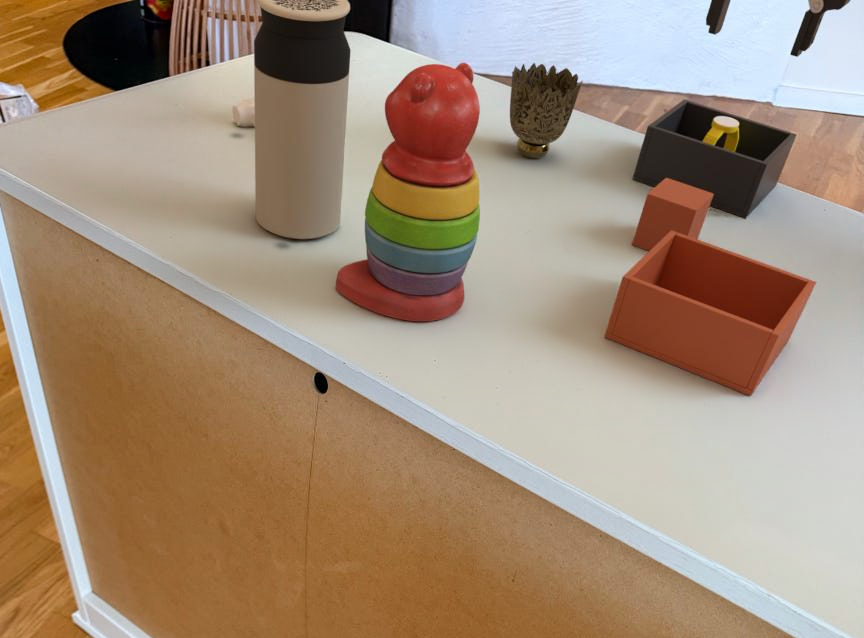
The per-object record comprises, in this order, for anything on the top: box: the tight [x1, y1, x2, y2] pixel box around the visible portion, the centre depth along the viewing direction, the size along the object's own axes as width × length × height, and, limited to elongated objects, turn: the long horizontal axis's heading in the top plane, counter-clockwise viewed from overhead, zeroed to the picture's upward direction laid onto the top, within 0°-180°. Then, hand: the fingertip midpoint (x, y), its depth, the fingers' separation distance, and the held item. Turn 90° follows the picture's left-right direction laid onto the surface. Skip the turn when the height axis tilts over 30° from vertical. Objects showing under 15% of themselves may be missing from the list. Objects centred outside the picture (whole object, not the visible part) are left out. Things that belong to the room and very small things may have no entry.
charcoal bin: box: [632, 99, 797, 219], centre depth 101 cm, size 13×11×6 cm
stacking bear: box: [335, 62, 481, 322], centre depth 74 cm, size 11×10×18 cm
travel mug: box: [253, 0, 351, 240], centre depth 80 cm, size 8×8×18 cm
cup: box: [509, 62, 584, 159], centre depth 100 cm, size 8×7×8 cm
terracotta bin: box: [604, 230, 817, 397], centre depth 78 cm, size 13×11×6 cm
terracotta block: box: [631, 178, 714, 252], centre depth 90 cm, size 5×5×5 cm
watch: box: [702, 116, 739, 152], centre depth 100 cm, size 6×3×6 cm, turn 133°
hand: (754, 43), depth 92 cm, fingers open, 8 cm apart
